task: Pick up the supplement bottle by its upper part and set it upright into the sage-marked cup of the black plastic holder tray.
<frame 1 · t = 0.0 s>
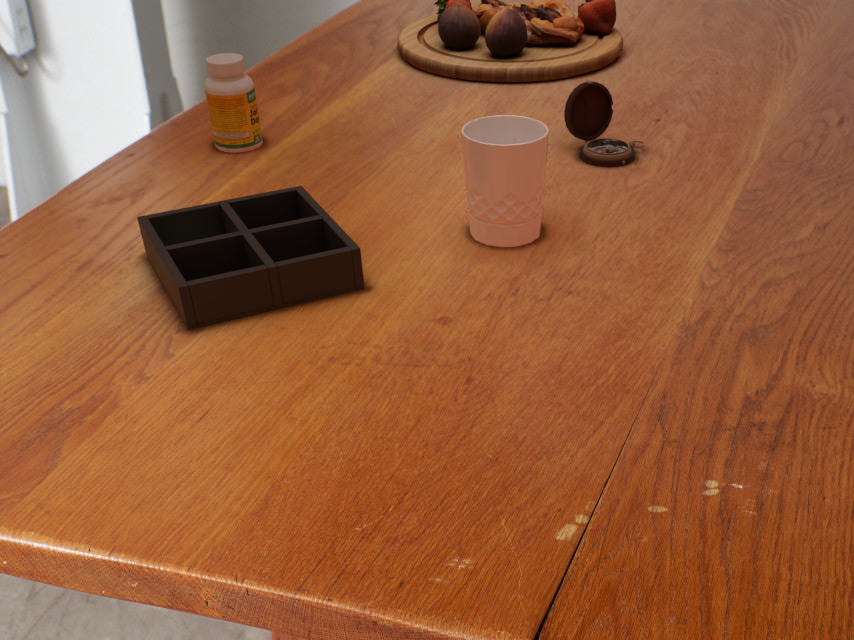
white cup: (505, 236, 97), on the table
compass: (609, 156, 113), on the table
holder: (253, 275, 90), on the table
wooden plate: (510, 53, 144), on the table
supplement bottle: (239, 148, 115), on the table
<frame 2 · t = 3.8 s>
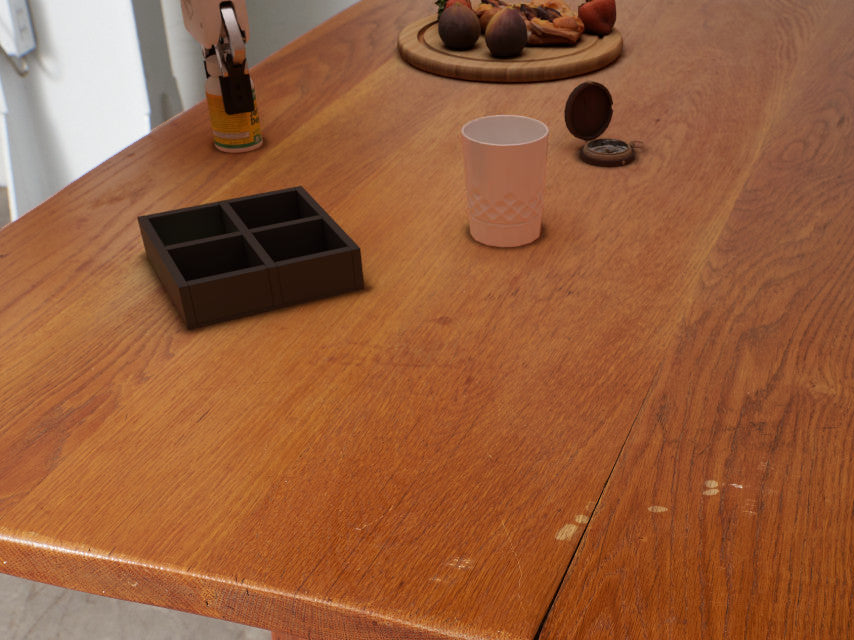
hand: (232, 102, 112), 5 cm above the table, tool pointing down, fingers closed on supplement bottle, 5 cm apart
supplement bottle: (239, 148, 115), on the table, touching gripper
everything else where it was.
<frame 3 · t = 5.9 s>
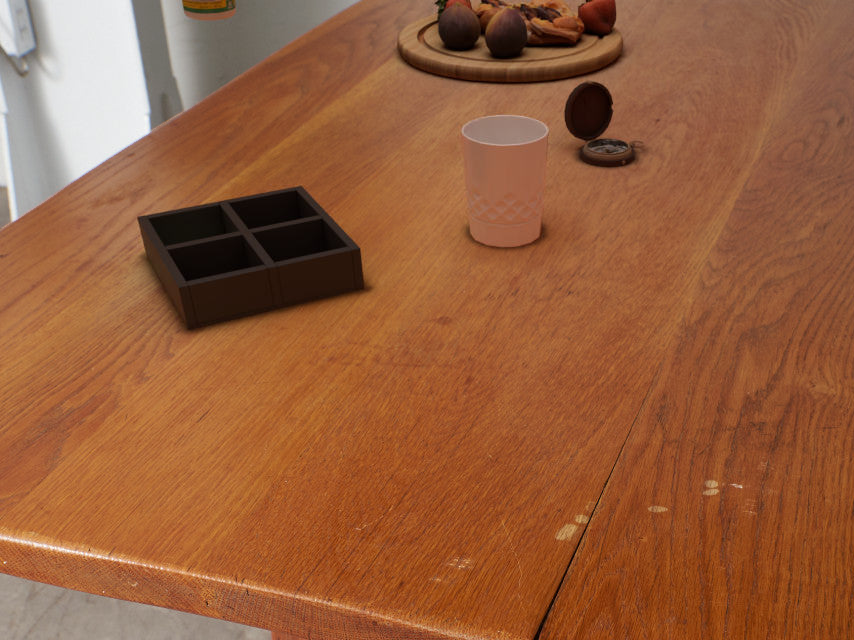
supplement bottle: (211, 17, 106), point 14 cm above the table, touching gripper
everything else where it was.
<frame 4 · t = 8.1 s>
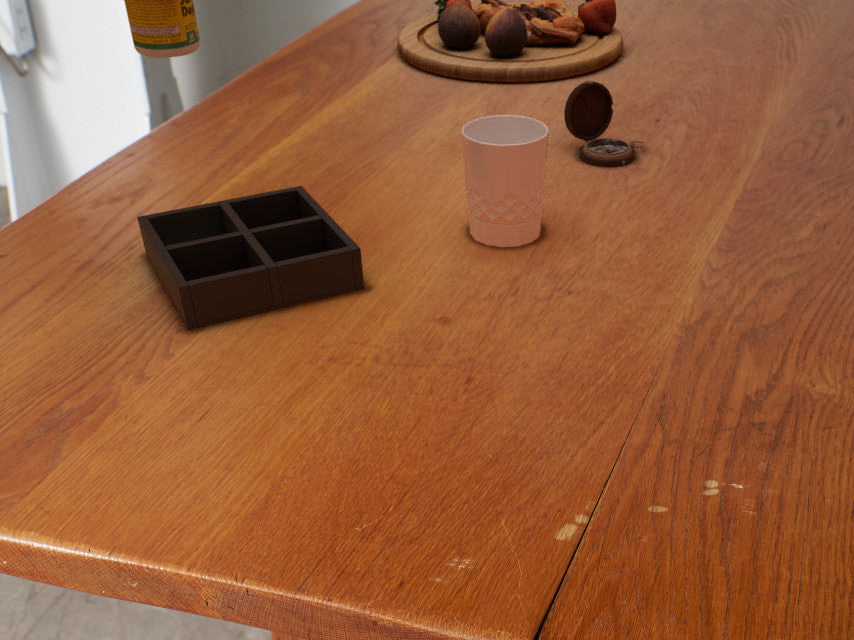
supplement bottle: (169, 52, 84), point 17 cm above the table, touching gripper
everything else where it was.
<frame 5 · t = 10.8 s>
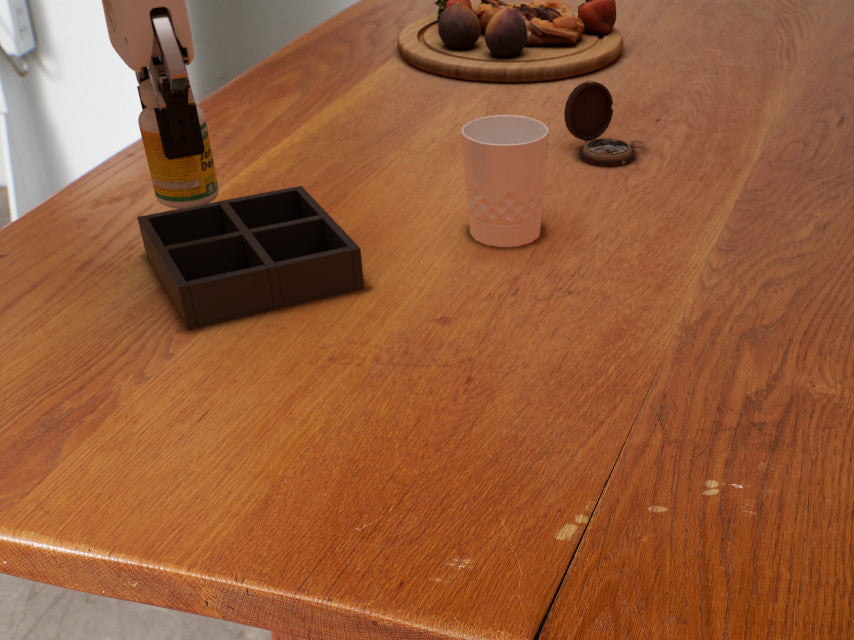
hand: (175, 141, 84), 11 cm above the table, tool pointing down, fingers closed on supplement bottle, 5 cm apart
supplement bottle: (189, 200, 88), point 6 cm above the table, touching gripper
everything else where it was.
when the fingers open (6 cm above the table, at t = 12.6 s): supplement bottle stays where it is, resting on holder.
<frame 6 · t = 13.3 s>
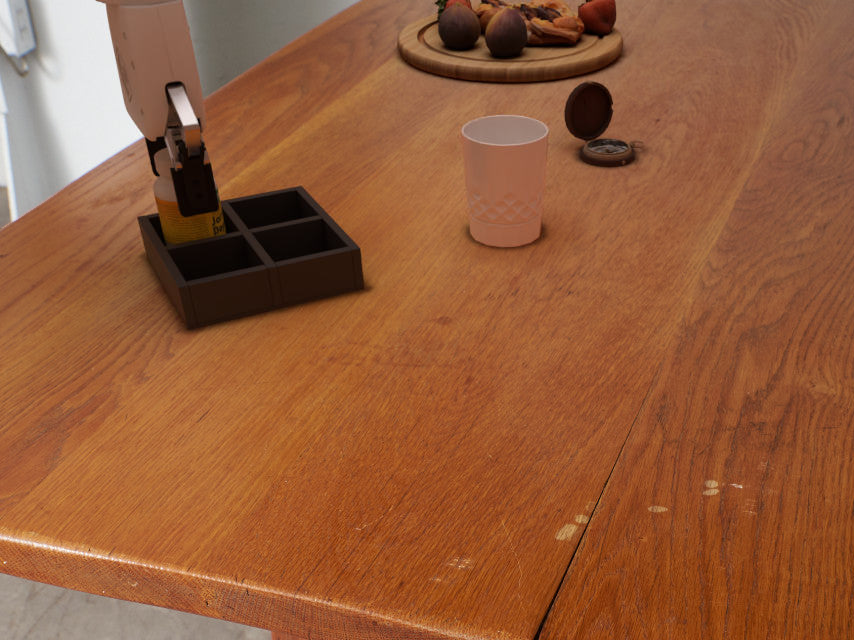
hand: (185, 192, 87), 7 cm above the table, tool pointing down, fingers open, 9 cm apart
supplement bottle: (201, 260, 91), point 1 cm above the table, touching holder
everything else where it was.
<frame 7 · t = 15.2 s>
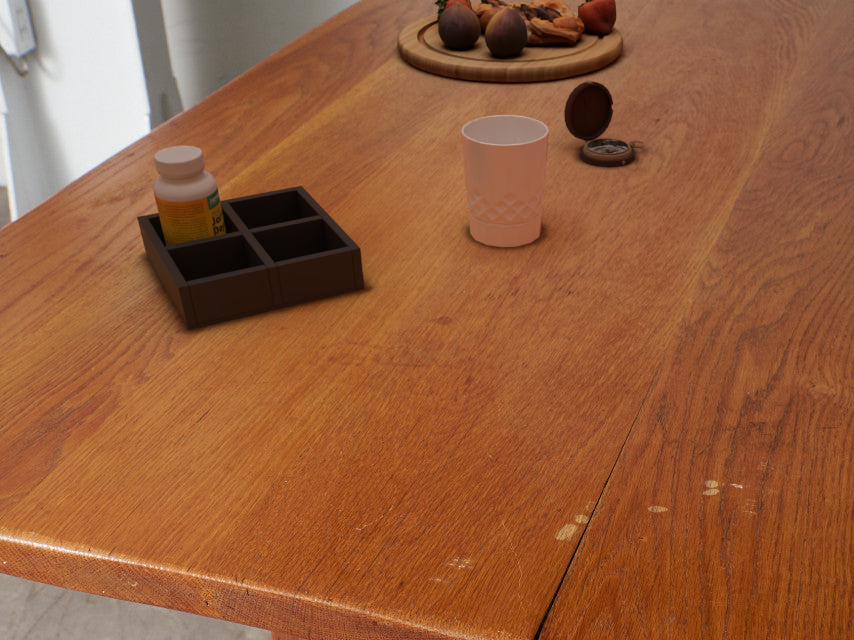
nothing on the table moved.
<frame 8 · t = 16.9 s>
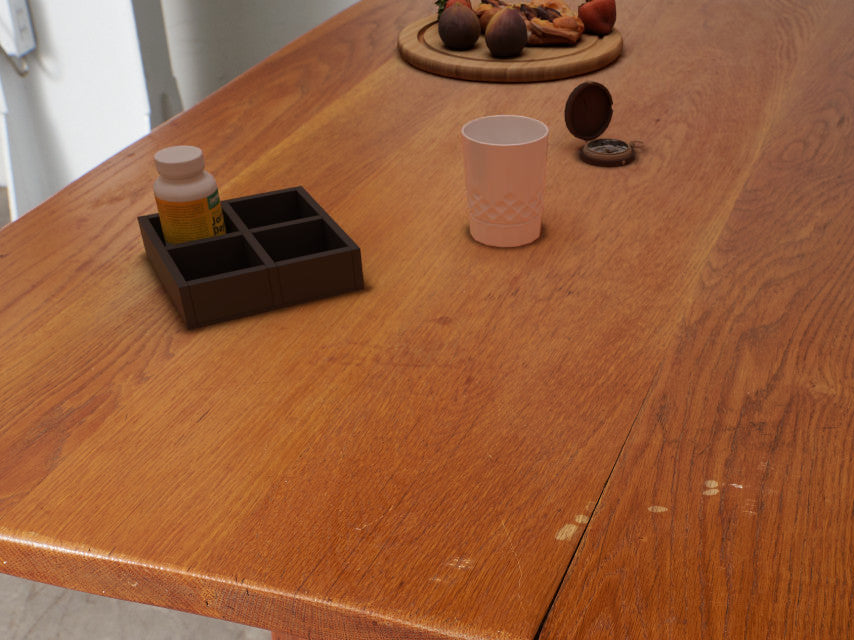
nothing on the table moved.
at the end: supplement bottle 0.1 cm from the target spot in the holder, point 0.6 cm above the holder's base; supplement bottle tilted 0° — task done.
